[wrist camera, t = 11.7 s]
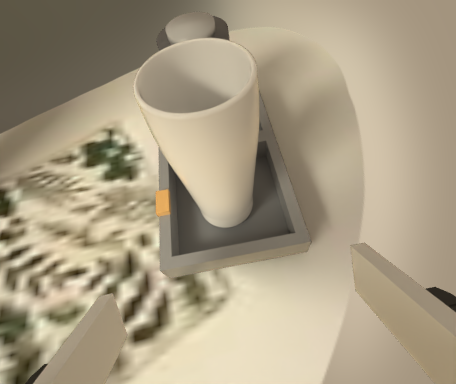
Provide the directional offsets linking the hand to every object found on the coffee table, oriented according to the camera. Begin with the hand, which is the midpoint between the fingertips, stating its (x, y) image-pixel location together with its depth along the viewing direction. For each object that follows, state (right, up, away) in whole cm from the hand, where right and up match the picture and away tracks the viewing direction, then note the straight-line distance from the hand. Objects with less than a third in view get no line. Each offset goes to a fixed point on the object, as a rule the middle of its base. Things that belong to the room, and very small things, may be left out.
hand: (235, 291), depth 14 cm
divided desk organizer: (-1, +9, +16) cm, 19 cm away
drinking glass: (0, +4, +12) cm, 13 cm away
